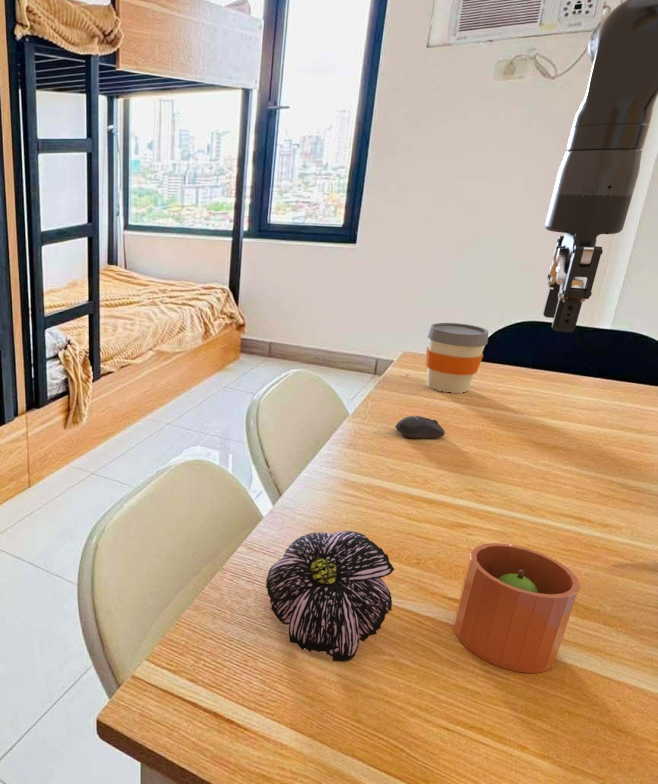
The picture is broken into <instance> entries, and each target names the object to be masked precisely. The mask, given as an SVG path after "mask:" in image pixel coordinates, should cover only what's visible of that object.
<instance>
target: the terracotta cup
mask: <svg viewBox="0 0 658 784" xmlns="http://www.w3.org/2000/svg"><path fill="white" fill-rule="evenodd" d="M519 570H523V571H524V577H526V578H528V579H529V580H531V581H532V582H533V583H534V585H535V586H536V588H537V590H538V593H534V592H530V591H526V590H522V589H519V588H516V587H514V586H511V585H508V584H506V583H504V582H502V581H500V580H498V578H500V577H501V576H503V575H506V574H518V573H519ZM580 588H581V585H580V581H579V578H578V577H577V576H576V575H575V573H573V571H572V570H571V569H570V568H569V567H567V566H566V565H564V564H562V563H561V562H560V561H558V560H556V559H555V558H553V557H551V556H549V555H546V554H544V553H542V552H539V551H536V550H534V549H531V548H527V547H524V546H519V545H515V544H510V543H500V542H489V543H483V544H479V545H477V546H475V547H473V549H472V550H471V551H470V554H469V558H468V562H467V566H466V569H465V575H464V577H463V581H462V585H461V590H460V593H459V596H458V597H459V598H458V602H457V606H456V610H455V614H454V618H453V619H454V621H453V624H452V625H453V631H454V633H455V636H456V637H457V639H458V640H459V642H461V644H462V645H463V646H464V647H465V648H466V649H468V650H469V651H470V652H471V653H473V654H474V655H475V656H477V657H479V658H480V659H483V660H484V661H486V662H487V663H489V664H491V665H495V666H497V667H500V668H502V669H505V670H509V671H512V672H517V673H522V674H523V673H524V674H538V673H539V674H540V673H544V672H547V671H549V670H550V669H552V668H553V667H554V666H555V664H556V661H557V658H558V656H559V652H560V649H561V646H562V644H563V641H564V637H565V635H566V632H567V629H568V625H569V622H570V620H571V619H570V618H571V616H572V613H573V610H574V607H575V604H576V600H577V597H578V595H579V591H580V590H581V589H580Z"/></svg>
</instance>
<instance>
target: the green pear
mask: <svg viewBox="0 0 658 784" xmlns="http://www.w3.org/2000/svg"><path fill="white" fill-rule="evenodd" d="M498 580H500V581H502V582H504V583H506V584H508V585H511V586H514V587H516V588H519V589H522V590H526V591H530V592H534V593H538V590H537V588H536V586H535V585H534V583H533V582H532V581H531V580H529V579H528V578H526V577H524V571H523V570H519V573H518V574H506V575H503V576H501V577H500V578H498Z"/></svg>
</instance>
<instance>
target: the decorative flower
mask: <svg viewBox="0 0 658 784" xmlns="http://www.w3.org/2000/svg"><path fill="white" fill-rule="evenodd" d="M394 571H395V568H394V566H393V564H392V562H390V559H389V554H387V553H385V551H384V550H383V548H381V547H379V546H378V545H377V544H376V543H375V542H373V540H370V538H368V537H367V535H366V534H363V533H361V532H357V531H351V530H340V531H336V532H333V533H331V532H323V531H319V532H310V533H307V534H305V535H302V536H300V537H298V538H296V539H295V540H294V541H293V542H292V543H290V545H289V546H288V547H287V548H286V550H285V551H284V553H283V555H282V558H281V559H279V560H278V561H276V562H274V564H272V565H271V567H270V568H269V570H268V573H267V577H266V579H265V583H266V586H265V589H266V591H267V595H268V597H269V602H270V605H271V606H270V610H271V612H272V613H273V614H274V616H275V617H276V619H278V621H279V623H282V624H283V625H286V626H287V625H288V639H289V643H292V644H296V645H297V646H298V647H299V649H301V651H303V652H304V649H305V650H307V651H308V652H309V653H311V652H312V651H314V652H317V653H323V652H324V653H326V654H325V655H327V656H330V657H331V662H342V663H343V662H344V663H345V662H350V661H352V659H353V658H354V657H355V656H356V654H357V652H358V648H359V645H360V641H361V642H365V640H367V639H368V638H369V637H370V636H374V635H377V631H379V630H380V629H381V628H382V624H383V623H384V621H385V619H386V615H388V614H389V612H392V607H393V600H392V595H391V591H390V589H389V587H388V585H387V584H386V582H385V581H384V580H383V579H382V578H384V577H387V576H389V575H391V574H392V573H393V572H394Z"/></svg>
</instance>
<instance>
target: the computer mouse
mask: <svg viewBox="0 0 658 784" xmlns="http://www.w3.org/2000/svg"><path fill="white" fill-rule="evenodd" d="M394 427H395V429H396V431H398V432H399V433H400V434H401V435H402V436H404V437H406V438H407V439H413V440H414V439H415V440H418V439H419V440H421V439H422V440H423V439H429V440H435V439H439V438H442V437H444V435H445V434H446V433H445V429H444V428H443V427H442V425H440V424H439V422H438V420H436V419H431V418H428V417H425V416H420V415H408V416H406V417H403V418H402V419H400V420H399V421H398V422H397V423H396V424H395V425H394Z"/></svg>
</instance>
